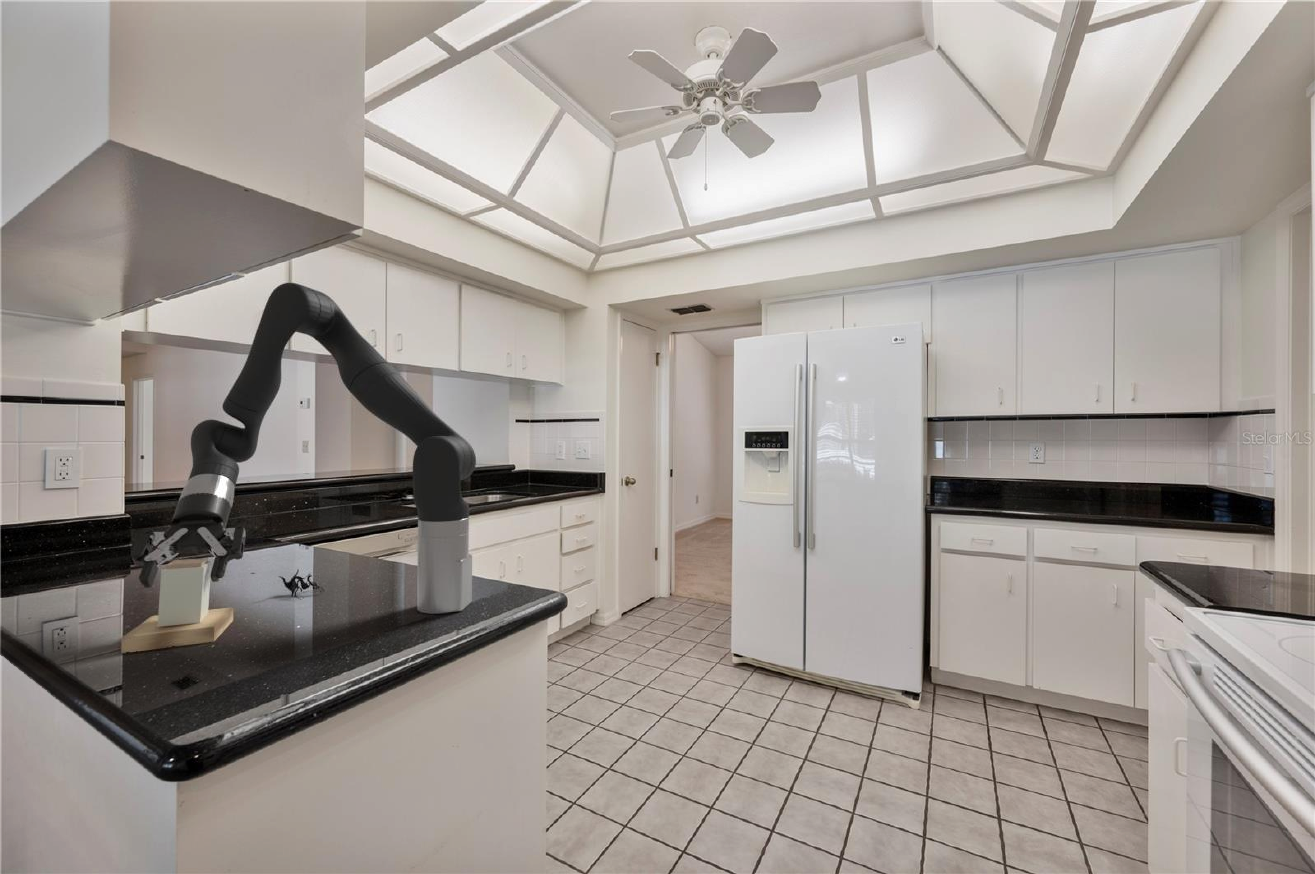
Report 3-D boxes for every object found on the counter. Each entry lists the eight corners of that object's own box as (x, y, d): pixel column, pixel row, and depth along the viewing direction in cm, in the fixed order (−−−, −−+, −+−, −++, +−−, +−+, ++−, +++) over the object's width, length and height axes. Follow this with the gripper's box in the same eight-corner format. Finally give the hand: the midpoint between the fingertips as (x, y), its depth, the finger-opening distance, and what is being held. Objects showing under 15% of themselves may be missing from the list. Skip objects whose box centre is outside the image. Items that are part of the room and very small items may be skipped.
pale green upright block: (207, 613, 90) (211, 557, 91) (200, 622, 86) (203, 563, 86) (167, 617, 88) (171, 559, 88) (157, 626, 83) (161, 565, 84)
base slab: (233, 623, 94) (233, 607, 94) (213, 645, 84) (214, 626, 84) (151, 633, 89) (152, 615, 89) (121, 657, 79) (121, 637, 79)
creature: (332, 594, 114) (295, 586, 114) (338, 570, 114) (301, 562, 114) (309, 606, 106) (270, 597, 106) (315, 580, 106) (276, 571, 106)
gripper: (148, 492, 91) (114, 574, 81) (249, 490, 97) (231, 565, 87) (160, 519, 96) (130, 599, 85) (256, 514, 102) (239, 589, 92)
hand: (181, 582), depth 86 cm, fingers open, 8 cm apart
